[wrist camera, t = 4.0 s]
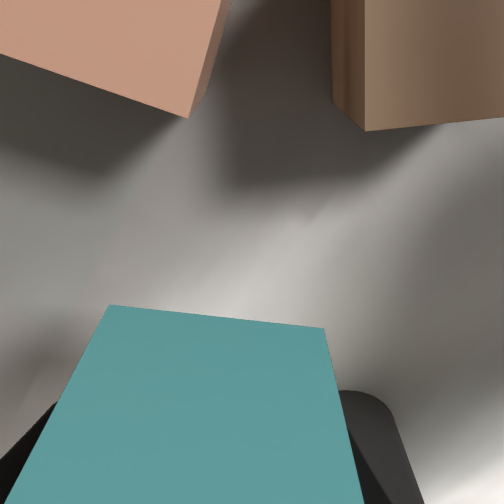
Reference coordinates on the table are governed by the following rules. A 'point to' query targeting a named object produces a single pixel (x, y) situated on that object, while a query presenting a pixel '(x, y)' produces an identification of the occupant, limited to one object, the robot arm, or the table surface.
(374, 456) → the dark grey cylinder
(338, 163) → the table surface
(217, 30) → the terracotta cube
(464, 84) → the walnut cube
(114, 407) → the teal cube
